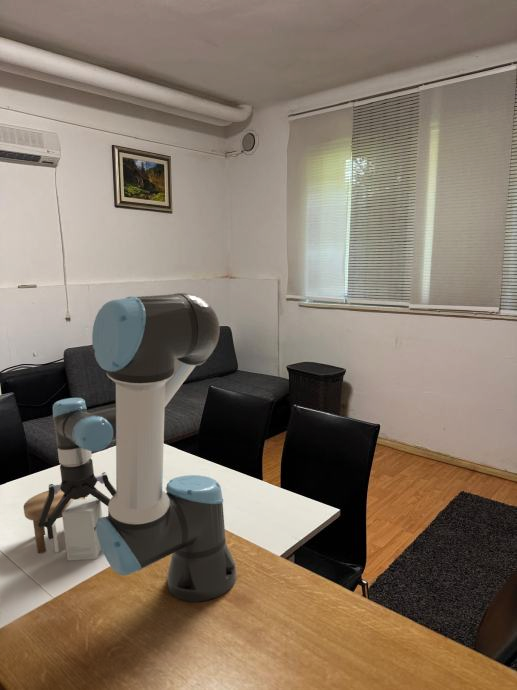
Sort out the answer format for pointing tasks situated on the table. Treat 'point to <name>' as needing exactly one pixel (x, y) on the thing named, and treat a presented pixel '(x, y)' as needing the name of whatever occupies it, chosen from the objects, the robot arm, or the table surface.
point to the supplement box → (82, 528)
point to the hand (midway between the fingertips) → (86, 541)
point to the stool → (34, 510)
